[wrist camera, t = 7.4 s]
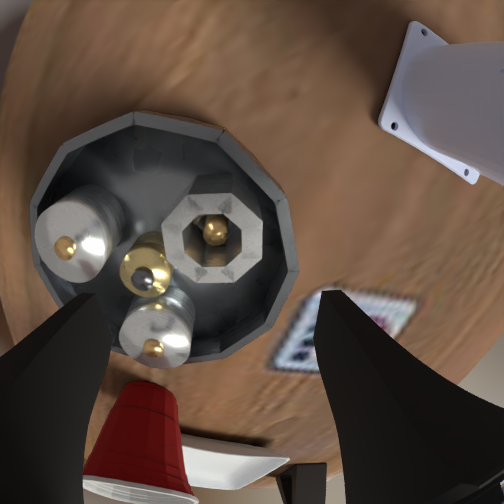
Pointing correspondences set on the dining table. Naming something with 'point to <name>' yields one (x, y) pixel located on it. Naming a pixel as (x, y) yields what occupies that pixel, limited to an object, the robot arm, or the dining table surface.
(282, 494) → the phone stand
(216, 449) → the salad plate
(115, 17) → the dining table surface
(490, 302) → the dining table surface
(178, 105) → the dining table surface
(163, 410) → the plastic cup
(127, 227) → the carrier
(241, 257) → the octagonal tube
